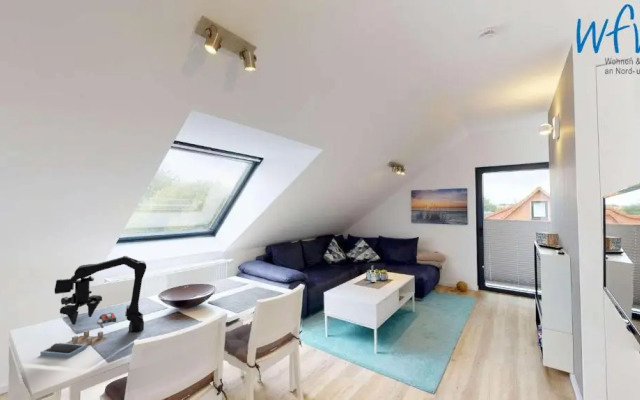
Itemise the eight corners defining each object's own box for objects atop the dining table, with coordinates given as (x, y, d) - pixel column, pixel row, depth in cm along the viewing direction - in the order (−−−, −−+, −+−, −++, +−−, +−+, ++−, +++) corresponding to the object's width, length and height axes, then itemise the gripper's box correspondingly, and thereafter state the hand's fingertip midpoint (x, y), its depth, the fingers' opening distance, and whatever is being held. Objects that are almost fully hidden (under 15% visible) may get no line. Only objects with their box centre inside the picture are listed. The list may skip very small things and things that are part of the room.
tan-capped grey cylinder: (77, 351, 137) (77, 343, 137) (69, 356, 133) (69, 347, 133) (56, 349, 138) (56, 341, 138) (47, 354, 134) (48, 345, 134)
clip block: (108, 340, 150) (108, 332, 150) (95, 347, 142) (95, 339, 142) (80, 337, 152) (81, 330, 152) (66, 345, 144) (66, 337, 144)
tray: (86, 350, 139) (86, 345, 139) (68, 360, 130) (69, 354, 130) (59, 348, 140) (59, 342, 140) (40, 358, 132) (40, 352, 132)
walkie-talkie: (95, 320, 175) (100, 331, 160) (95, 313, 175) (100, 323, 160) (112, 316, 181) (119, 326, 167) (112, 309, 181) (119, 319, 167)
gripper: (83, 284, 156) (83, 312, 156) (49, 296, 137) (49, 328, 137) (102, 285, 155) (102, 313, 155) (70, 296, 137) (70, 329, 137)
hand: (82, 320), depth 146 cm, fingers open, 9 cm apart
